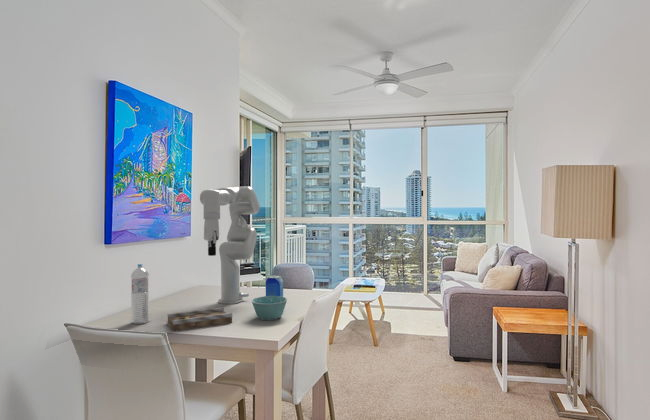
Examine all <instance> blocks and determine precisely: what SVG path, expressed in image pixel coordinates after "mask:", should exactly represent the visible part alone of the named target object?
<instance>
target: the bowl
mask: <svg viewBox="0 0 650 420" xmlns="http://www.w3.org/2000/svg"><path fill="white" fill-rule="evenodd" d="M287 300H288V298H286V297H284V296H283V297H281V296H266V295H265V296H258V297H255V298H253V299H251V303H252V306H253V309H254V311H255V315H256V316H257V318H259V319H260V320H262V321H274V320H278V319H280V318H281V317H282V315H283V314H284V312H285V311H284V310H285V307H286V304H287Z"/></svg>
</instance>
